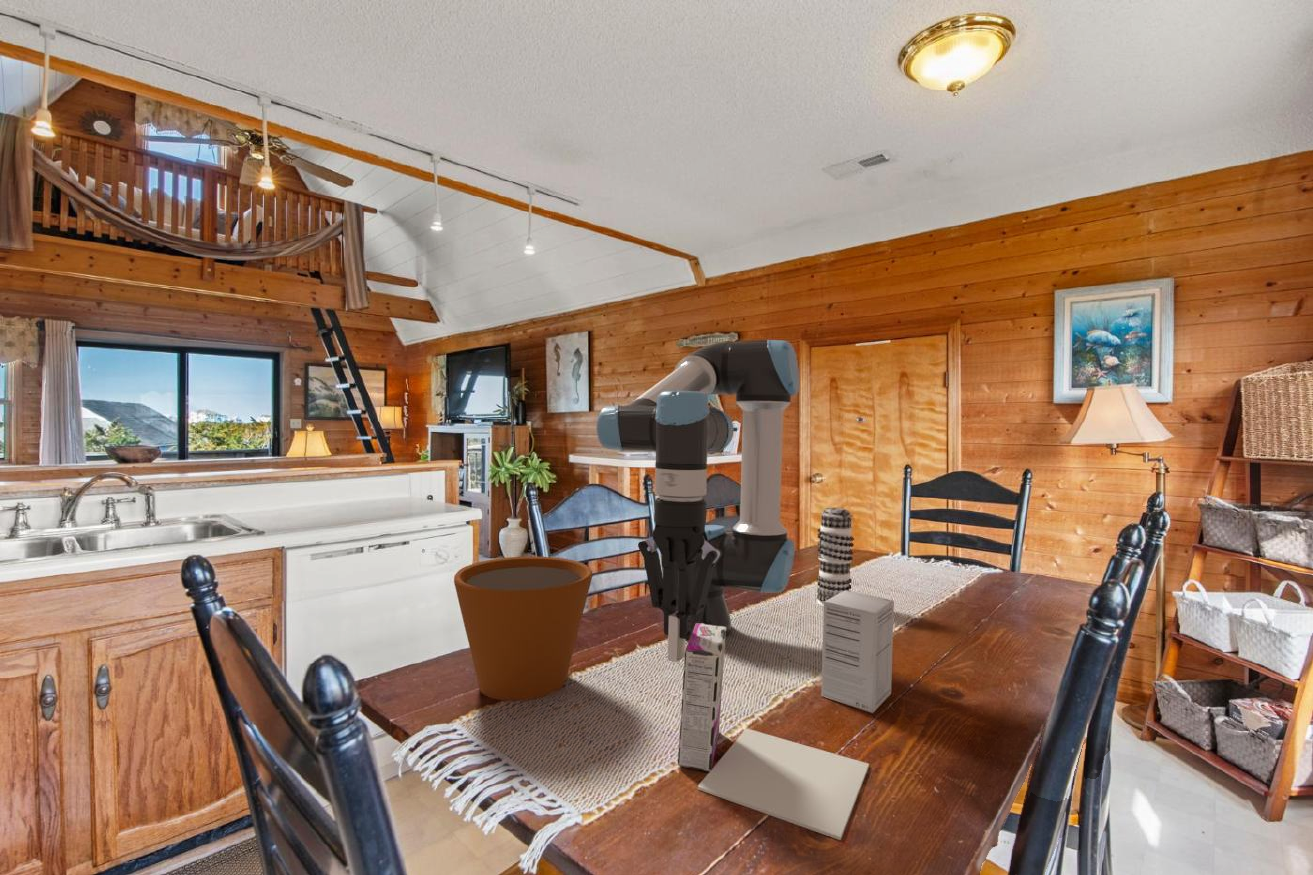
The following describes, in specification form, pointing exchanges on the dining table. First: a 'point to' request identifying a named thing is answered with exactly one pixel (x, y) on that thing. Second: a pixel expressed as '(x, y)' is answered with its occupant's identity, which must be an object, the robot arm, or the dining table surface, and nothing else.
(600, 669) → the dining table surface
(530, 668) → the flower pot
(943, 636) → the dining table surface
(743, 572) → the robot arm
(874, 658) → the supplement box
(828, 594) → the decorative candle
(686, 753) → the candy bar box
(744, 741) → the mat
